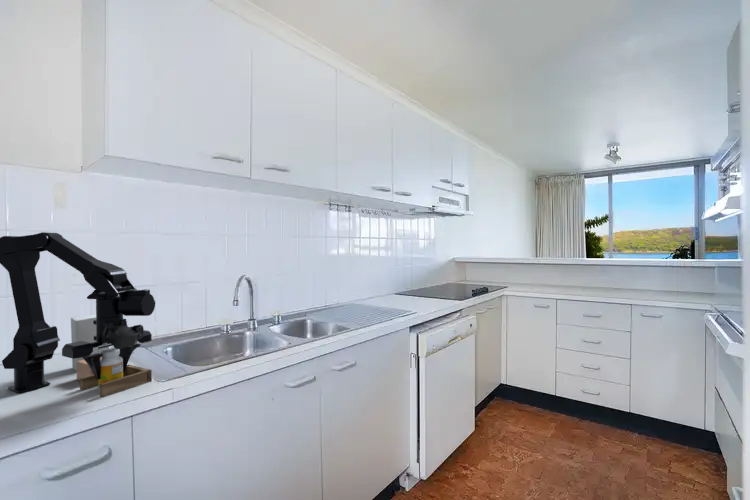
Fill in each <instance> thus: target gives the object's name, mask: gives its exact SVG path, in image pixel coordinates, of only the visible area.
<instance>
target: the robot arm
mask: <svg viewBox="0 0 750 500" xmlns="http://www.w3.org/2000/svg"><path fill="white" fill-rule="evenodd" d="M42 252H48V253H50V254H52V255H53V256H55V257H56V258H58V259H59V260H61V261H62V262H64V263H65V264H67V265H69V266H70V267H71V268H74V269H75V270H76V271H78V272H79V273H81V274H82V276H83V278H84V280H85V282H86V283H87V284H88V285H90V286H91V288H93V289H94V290H93V291H92V292H91V293H90V294H88V295H87V297H86V299H87V300H95V314H96V320H93V324H95V325H96V336H94V340H95V341H96V342H93V343H89V342H84V341H79V342H74V343H72V342H70V343H65V344H64V345H63V347H62V349H61V357H64V358H65V357H66V358H69V359H71V360H72V359H75V358H81V357H83V359H84V360H85V361H86V362H87V364H88V365H89V367H90V369H91V370H92V372H93V374H94V376H95V377H96V379H98V380H99V379H100V376H101V370H100V358H101V356H102V354H100V353H98V349H100V348H105V347H109V348H110V347H112V346H113V348H116V349H120V354H119V356H120V357H122V358H123V372H124V371H125V369H126V366H127V365H128V363H129V360H130V358H131V356H132V354H133V352H134V351H135V350H136V349H137V348H140V347H141V345H142V344H144V343H148V342H152V339H153V338H152V337H153V335H152V332H151V331H150V330H146V329H145V328H144V325H142V324H137V325H135V324H134V325H133V326H128V321H127V319H126V318H124V316H125V317H134V316H135V317H136V316H137V317H138V316H140V317H146V316H147V317H148V316H151V315H152V314H153V312H154V311H155V307H156V300H155V298H154V296H153V295H152V294H151V290H150V288H149V289H148V288H147V289H138V288H136V286H135V285H134V284H133V283H132V281H131V280H130V278H129V277H128V276H127V271H126V270H125V269H123V268H122V267H120V266H117V265H115V264H114V263H113V264H112V263H110V262H106V261H102V260H100V259H98V258H95V257H94V256H93V255H91V254H89V253H88V252H86V251H85V250H83V249H81V248H80V247H78V246H77V245H75V244H74V243H72V242H70V241H69V240H68V239H66V238H64V237H63V235H62V234H60V233H57V232H45V231H42V232H39V233H34V234H27V235H21V236H20V235H19V236H18V235H17V236H16V235H3V236H0V265H1V266H2V267H3V268H4V269H5V270H6V271H7V272H8V275H9V281H10V287H11V290H12V291H11V292H12V297H13V301H14V302H13V303H14V307H15V312H16V316H17V322H18V328H17V330H16V332H15V335H14V337H13V340H12V341H13V343H12V344H13V345H12V346H13V347H12V350H11V351H10V352H9V353H8V354H7V355H6V356H5V357H4V358H3V359H2V360H1V364H2V366H3V368H4V369H5V370H7V369H8V370H12V369H13V385H10V386H8V387H7V390H9V391H12V392H14V393H18V394H20V393H25V392H28V391H33V390H36V389H39V388H43V387H46V386H50V385H51V382H49V381H46V380H45V361H48V360H52V359H53V356H54V354H55V351H56V350H57V349H58V347H59V342H60V341H61V338H60V337H59V333H58V328H57V326H56V325H54V326H50V325H49V324H48V323H47V322H46V320H45V317H44V315H45V314H44V312H43V311H44V310H43V305H42V299H41V294H40V289H39V285H38V279H37V273H36V266H37V265H38V263H39V261H40V258H41V253H42ZM144 329H145V330H144ZM138 342H139V343H138ZM104 343H106V344H104ZM102 344H103V345H102Z"/></svg>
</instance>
